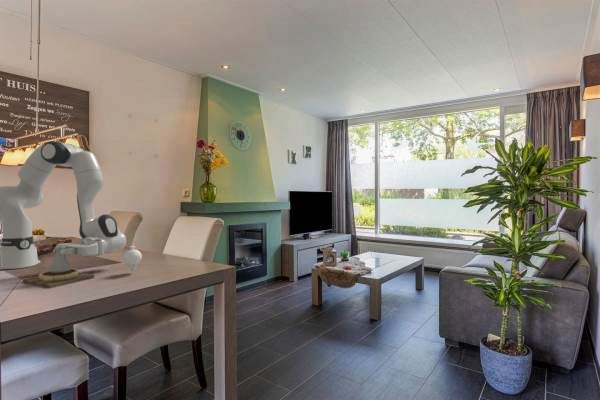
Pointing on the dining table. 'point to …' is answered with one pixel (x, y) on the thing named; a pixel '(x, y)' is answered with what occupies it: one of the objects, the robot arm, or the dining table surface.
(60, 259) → the flask
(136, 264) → the spinning top
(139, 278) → the dining table surface
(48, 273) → the wooden ring
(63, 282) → the walnut board
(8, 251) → the robot arm
